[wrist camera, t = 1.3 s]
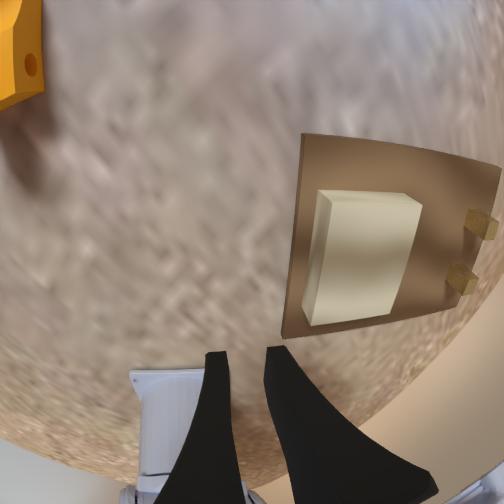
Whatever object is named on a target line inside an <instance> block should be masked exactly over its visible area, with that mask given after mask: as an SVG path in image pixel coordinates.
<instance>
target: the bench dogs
mask: <svg viewBox="0 0 504 504" xmlns="http://www.w3.org/2000/svg"><path fill="white" fill-rule="evenodd" d="M498 225H499V222H498V221H497V220H495V219H494V218H492V217H491V216H489V215H488V214H486V213H484V212H483V211H481V210H480V209H474V208H468V211H467V215H466V218H465V222H464V225H463V226H465V227H466V228H468V229H469V230H470V231H472V232H473V233H475V234H476V235H477V236H479V237H480V238H481V239H483V240H494V238H495V235H496V231H497V228H498ZM445 279H446V280H447V281H448V282H449V283H450V284H451V285H452V286H453V287H454V288H455V289H456V290H457V291H458V292H459V293H460V294H461V295H462V296H464V295H469V294H473V291H474V289H475V287H476V285H477V282H478V280H479V278H478V277H477V276H476V275H475V274H474V273H473V272H471V271H470V270H469V269H468V268H467V267H466V266H465V265H463V264H462V263H455V264H451V265H450V268H449V270H448V273H447V276H446V278H445Z"/></svg>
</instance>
